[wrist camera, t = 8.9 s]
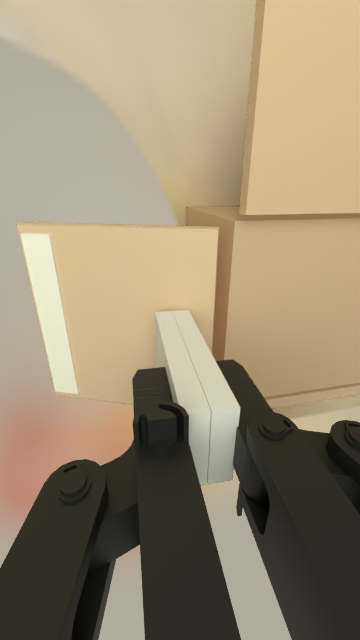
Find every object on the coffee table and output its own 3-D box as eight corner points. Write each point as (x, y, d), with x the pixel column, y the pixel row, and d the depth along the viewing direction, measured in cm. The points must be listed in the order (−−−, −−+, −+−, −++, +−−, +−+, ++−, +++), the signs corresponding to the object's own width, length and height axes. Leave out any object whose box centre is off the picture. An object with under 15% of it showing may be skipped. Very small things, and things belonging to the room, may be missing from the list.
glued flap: (209, 404, 16) (62, 386, 18) (219, 226, 12) (28, 222, 14) (207, 416, 16) (53, 396, 17) (218, 229, 11) (14, 224, 13)
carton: (184, 342, 25) (223, 423, 17) (188, 31, 17) (270, -131, 8) (316, 328, 28) (409, 393, 19) (379, 52, 19) (597, -56, 10)
